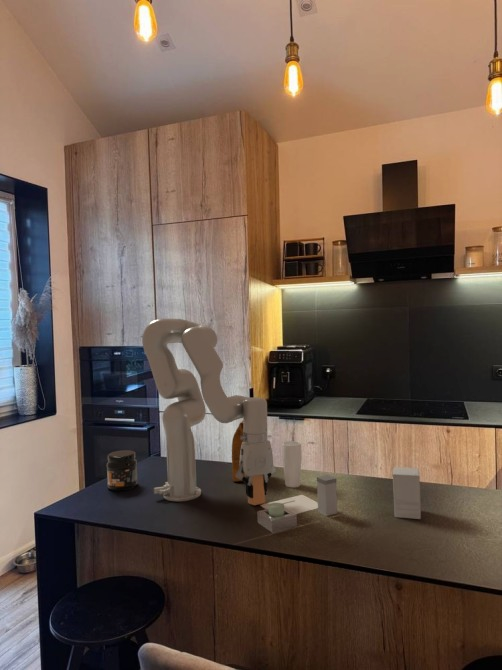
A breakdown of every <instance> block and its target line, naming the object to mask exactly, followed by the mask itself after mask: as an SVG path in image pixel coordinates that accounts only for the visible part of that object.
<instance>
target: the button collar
mask: <svg viewBox="0 0 502 670" xmlns="http://www.w3.org/2000/svg"><path fill="white" fill-rule="evenodd" d="M256 513H257V516H256V517H257V523H258V524H259V525H260V526H262V527H263V528H264V529H266V530H268V531H269V532H270V533H271V534H277V533H280V532H284V531H287V530H291V529H293V528H297V527H298V521H297V515H298V514H295V513H293V512H292V511H290V510H288V509H287V508H285V507H284V513H285V515H283V516H279V517H275V518H273V517H271V516H270V515H269V508H268V509H265V508H263V509H262V510H261V509H260V510H257V512H256Z"/></svg>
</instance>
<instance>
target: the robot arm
mask: <svg viewBox="0 0 502 670" xmlns="http://www.w3.org/2000/svg"><path fill="white" fill-rule="evenodd" d="M146 325H147V326H145V328H144V331H143V334H142V337H141V338H142V339H141V342H142V348H143V351H144V353H145V355H146V358H147V361H148V363H149V366H150V367H149V368H150V371H151V373H152V376H153V379H154V383H155V386H156V389H157V392H158V394H159V396H160V397H161V398H162V399H164V400H172V399H177V401H175V402H173V403H169V405H167V406H166V407H165V409H164V411H163V413H162V425H163V429H164V434H165V446H166V448H165V449H166V469H167V471H166V473H167V481H165V482H164V484H163V485H162V486H157V487H154V488H153V493H154V495H156V494H159V495H163V498H164V500H167V501H169V502H187V501H191V500H194V499H197V498H199V497H200V496H201V495H202V489H201V488H200V487H197V471H196V469H197V468H196V467H197V466H196V445H195V444H196V442H195V437H194V433H193V430H192V428H191V427H194V426H196V425H198V424H200V423H202V421H204V419H205V417H206V413H207V410H206V407H207V408H208V409H209V412H210V414H211V415H212V416H213V418H214V419H215V420H216V421H218V422H219V423H222V424H229V423H232V422H235V421H236V420H239V419H242V421H243V430H244V433H243V435H242V436H240V440H243V441H244V442H242V445H241V451H240V468H239V470H238V472H237V473H236V477H237V478H239V479H241V480H242V481H241V482H243V483H244V484H245V494H246V496H247V498H248V497H250V498H253V485H252V477H253V476H258V475H263V480H264V492H265V496H267V490H268V487H267V486H268V484H267V483H268V482H269V479H270V478H271V476H272V475H273V474H274V473H275V472H276V470H277V469H276V467H275V466H274V457H273V448H272V444H271V441H270V440H269V439H268V402H267V400H266V399H265V398H263V397H258V396H257V397H248V396H244V395H240V394H239V395H237V394H236V395H232V396H227V394H226V392H225V391H224V389H223V387H222V383H221V373H222V369H223V368H224V363H223V361H222V359H221V358H220V356H219V354H218V352H217V350H216V349H215V347H216V346H217V345H218V336H217V333H216V332H215V330H214V329H213V328H211V327H210V326H207V325H203V324H201V323H200V324H199V323H196V322H193V321H189V320H185V319H182V318H158V319H154V320H152V321H151V322H149V323H148V324H146ZM168 344H181V345H182V347H183V348H184V350H185V352H186V354H187V355H188V357H189V359H190V361H191V362H192V364H193V366H194V368H195V370H196V372H197V373H198V375H199V377H200V386H199V383H198V380H197V378H196V376H195V375H194V374H193V372H191V371H190V370H189V369H184V368H180V369H179V368H178V366H177V363H176V360H175V357H174V354H173V353H172V352H171V350H170V348H168ZM200 389H201V390H200ZM243 473H244V474H245V477H244V476H242V474H243Z"/></svg>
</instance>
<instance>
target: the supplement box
mask: <svg viewBox="0 0 502 670" xmlns="http://www.w3.org/2000/svg"><path fill="white" fill-rule="evenodd" d="M420 479H421V477H420V471H419V468H417V467H402V466H401V467H400V466H394V467H393V470H392V489H393V491H392V492H393V508H394V510H393V513H394V518H402V519H413V520H414V519H415V520H421V518H422V513H421V512H422V511H421V510H422V506H421V505H422V503H421V485H420V484H421V483H420V482H421V480H420Z"/></svg>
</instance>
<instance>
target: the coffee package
mask: <svg viewBox="0 0 502 670" xmlns="http://www.w3.org/2000/svg"><path fill="white" fill-rule="evenodd" d="M243 433H244V430H243V420H242V421H241V422H239V424H238V426H237V428H236V430H235V432H234V434H233V437H232V441H231V468H232V481H233V482H243V481H242V480H241V479H239V478H237V477H236V473H237V472H238V470H239V468H240V451H241V445H242V442H244V441H243V440H240V436H242V435H243ZM242 476H244V477H245V474H244V473H243V474H242Z"/></svg>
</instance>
